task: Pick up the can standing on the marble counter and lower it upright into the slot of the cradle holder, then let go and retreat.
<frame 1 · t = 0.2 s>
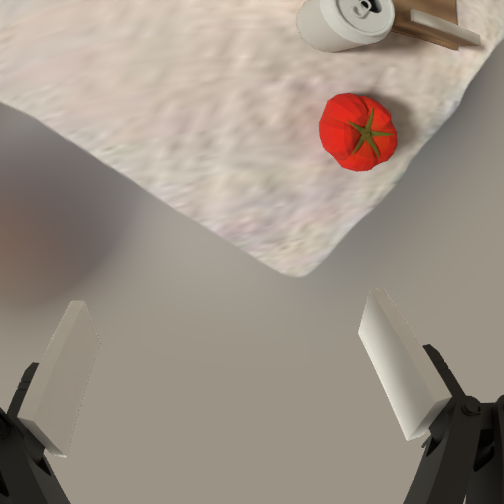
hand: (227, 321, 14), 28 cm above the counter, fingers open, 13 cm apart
can: (324, 25, 30), on the counter
tomato: (344, 125, 37), on the counter
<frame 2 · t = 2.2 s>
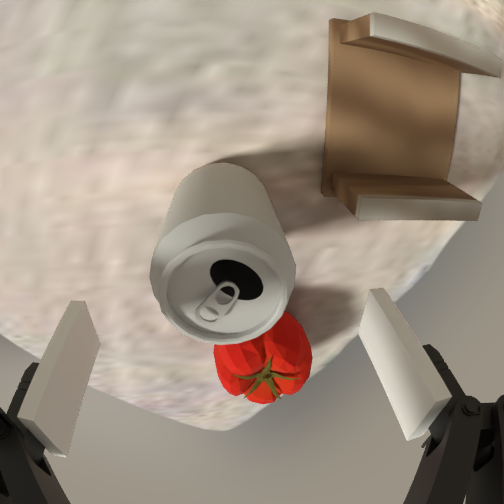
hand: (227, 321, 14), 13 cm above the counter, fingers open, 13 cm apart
can: (220, 204, 25), on the counter
cradle holder: (395, 114, 22), on the counter
tomato: (256, 325, 32), on the counter
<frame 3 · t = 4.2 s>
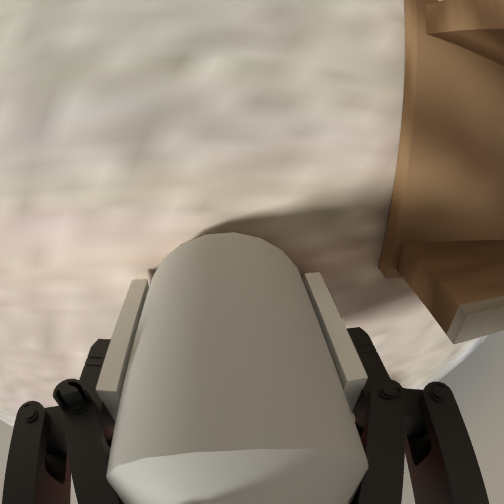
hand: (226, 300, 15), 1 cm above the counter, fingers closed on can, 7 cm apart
can: (226, 290, 16), on the counter, touching gripper
cradle holder: (485, 150, 13), on the counter
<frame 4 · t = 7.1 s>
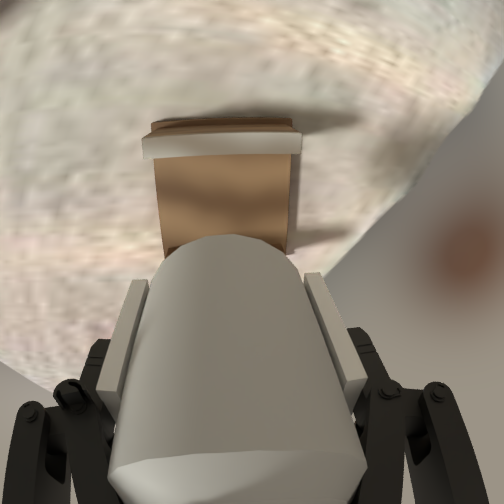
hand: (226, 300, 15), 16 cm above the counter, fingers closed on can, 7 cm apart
can: (226, 291, 16), point 15 cm above the counter, touching gripper
cradle holder: (222, 192, 29), on the counter
when the fingers open (4 cm above the counter, at t = 10.0 s): can drops 2 cm, resting on cradle holder.
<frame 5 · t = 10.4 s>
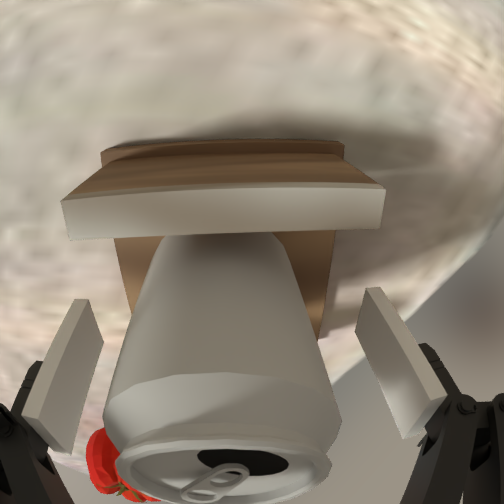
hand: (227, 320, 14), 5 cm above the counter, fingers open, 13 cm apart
can: (220, 269, 18), point 1 cm above the counter, touching cradle holder
cradle holder: (225, 261, 19), on the counter
tomato: (132, 433, 28), on the counter
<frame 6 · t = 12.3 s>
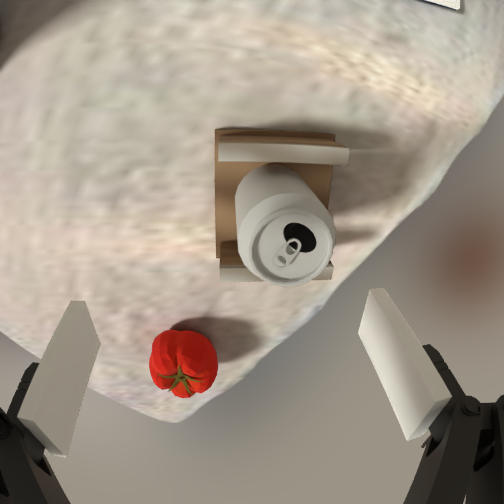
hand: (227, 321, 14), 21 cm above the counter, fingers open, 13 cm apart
can: (270, 197, 33), point 1 cm above the counter, touching cradle holder
cradle holder: (272, 195, 34), on the counter
tomato: (184, 341, 43), on the counter
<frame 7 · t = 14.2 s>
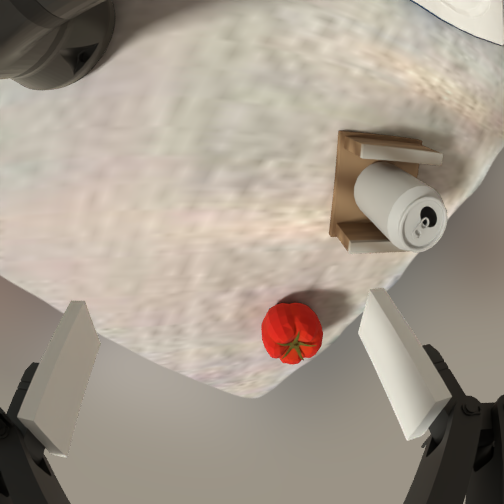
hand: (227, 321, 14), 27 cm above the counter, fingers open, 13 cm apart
can: (376, 187, 39), point 1 cm above the counter, touching cradle holder
cradle holder: (375, 185, 40), on the counter
tomato: (286, 314, 49), on the counter
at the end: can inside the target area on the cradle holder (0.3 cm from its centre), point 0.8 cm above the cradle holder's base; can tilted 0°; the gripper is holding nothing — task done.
